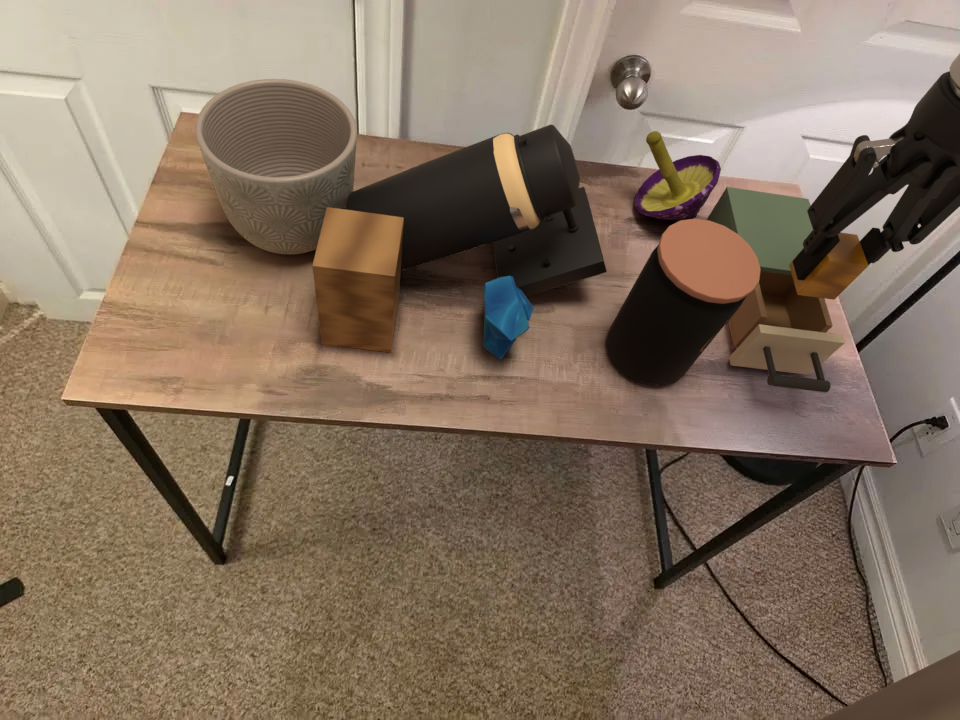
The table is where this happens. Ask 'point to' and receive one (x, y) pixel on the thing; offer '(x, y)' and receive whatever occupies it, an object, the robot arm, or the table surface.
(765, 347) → the drawer
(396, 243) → the stand
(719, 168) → the decorative mushroom
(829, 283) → the block
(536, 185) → the light fixture
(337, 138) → the planter
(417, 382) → the table surface
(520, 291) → the crystal
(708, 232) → the coffee jar
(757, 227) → the cabinet
